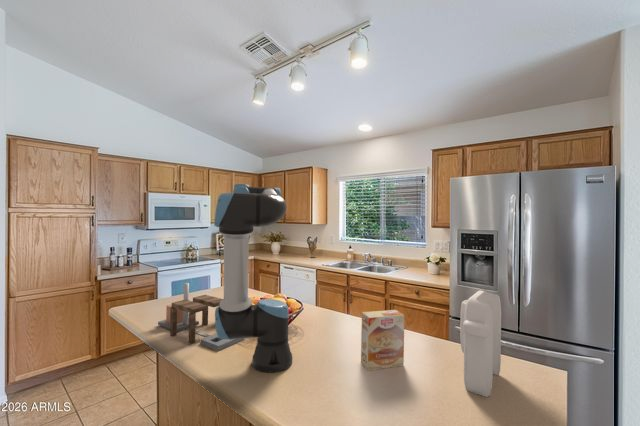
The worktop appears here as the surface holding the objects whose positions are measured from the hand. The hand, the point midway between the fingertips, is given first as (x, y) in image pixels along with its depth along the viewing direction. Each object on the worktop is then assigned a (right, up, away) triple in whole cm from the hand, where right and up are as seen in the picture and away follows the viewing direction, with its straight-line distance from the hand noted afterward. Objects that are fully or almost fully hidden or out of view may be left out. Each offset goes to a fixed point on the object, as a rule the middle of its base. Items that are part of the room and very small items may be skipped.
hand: (240, 262), depth 153 cm
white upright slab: (+95, -34, -47) cm, 111 cm away
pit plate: (-3, -32, -17) cm, 37 cm away
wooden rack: (-24, -32, -4) cm, 40 cm away
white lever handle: (-31, -32, +1) cm, 45 cm away
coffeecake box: (+63, -33, -36) cm, 80 cm away
